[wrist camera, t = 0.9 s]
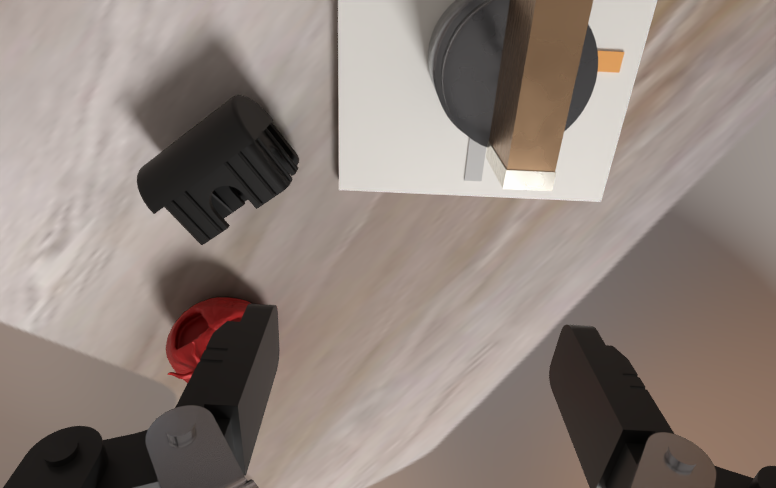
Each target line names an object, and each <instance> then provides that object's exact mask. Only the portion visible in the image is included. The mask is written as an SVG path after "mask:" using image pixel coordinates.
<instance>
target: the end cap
mask: <svg viewBox="0 0 776 488" xmlns="http://www.w3.org/2000/svg"><path fill="white" fill-rule="evenodd" d="M272 121H273V120H272V118H271V117H270V116H269V115H268V114H267V113H266V112H265V111H264V110H263V109H262V108H261V107H260V106H259V105H258V104H257V103H255V102H254V101H253V100H251V99H249V98H247V97H245V96H241V95H237V96H234V97H233V98H231V99H230V100H229V101H227V102H226V103H225V104H223V105H222V106H221V107H220V108H218V109H217V110H216V111H214V112H213V113H212V114H210V115H209V116H208V117H207V118H205V119H204V120H203V121H201V122H200V123H199V124H197V125H196V126H195V127H194V128H192V129H191V130H190V131H188V132H187V133H186V134H184V135H183V136H182V137H181V138H179V139H178V140H177V141H175V142H174V143H173V144H171V145H170V146H169V147H168V148H166V149H165V150H164V151H162V152H161V153H160V154H158V155H157V156H156V157H155V158H153V159H152V160H151V161H149V162H148V163H147V164H145V165H144V166H143V167H142V168H141V169H140V170H139V173H138V175H137V185H138V189H139V192H140V195H141V197H142V199H143V201H144V202H145V204H146V205H147V206H148V208H149V209H150V210H151V211H152V212H153V214H155V213H156V212H157V211H159V210H160V209H162V208H163V207H165V208H166V209H167V210H168V211H169V212H170V213H171V214H172V215H173V216H174V217H175V218H176V219H177V220H178V221H179V223H180V224H181V225H182V226H183V227H184V228H185V229H186V230H187V231H188V232H189V233H190V234H191V235H192V236H193V237H194V238H195V239H196V240H197V241H198V242H199V243H200V244H201V245H203V244H205V243H206V242H208V241H209V240H211V239H212V238H214V237H215V236H217V235H218V234H220V233H221V232H223V231H224V230H226V229H227V228H228V227H229V226H230V225H229V224H228V223H227V222H226V221H225V220H224V218H225V217H227V216H228V215H230V214H231V213H233V212H234V211H236V210H237V209H239V208H240V207H241V206H243V205H244V204H245V201H246V200H249V201H250V202H251V203H252V204H253V206H254V207H255V208H256V209H257V208H259V207H260V206H262V205H263V204H265V203H266V202H268V201H269V200H271V199H272V198H273V197H275V196H276V195H278V194H279V193H281V192H282V191H284V190H285V189H286V188H287V187H288V186H289V185H290V183H291V181H292V177H291V176H292V175H294V174H295V173H296V172H297V170H298V167H297V165H298V163H299V158H298V156H297V154H296V153H295V152H294V150H293V149H292V148H291V147H290V145H289V144H288V143H287V141H286V140H285V139H284V138H283V136H282V135H281V134H280V132H279V131H278V130H277V129H276V127H275V126H274V125H273V124H272ZM290 174H291V176H290Z"/></svg>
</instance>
